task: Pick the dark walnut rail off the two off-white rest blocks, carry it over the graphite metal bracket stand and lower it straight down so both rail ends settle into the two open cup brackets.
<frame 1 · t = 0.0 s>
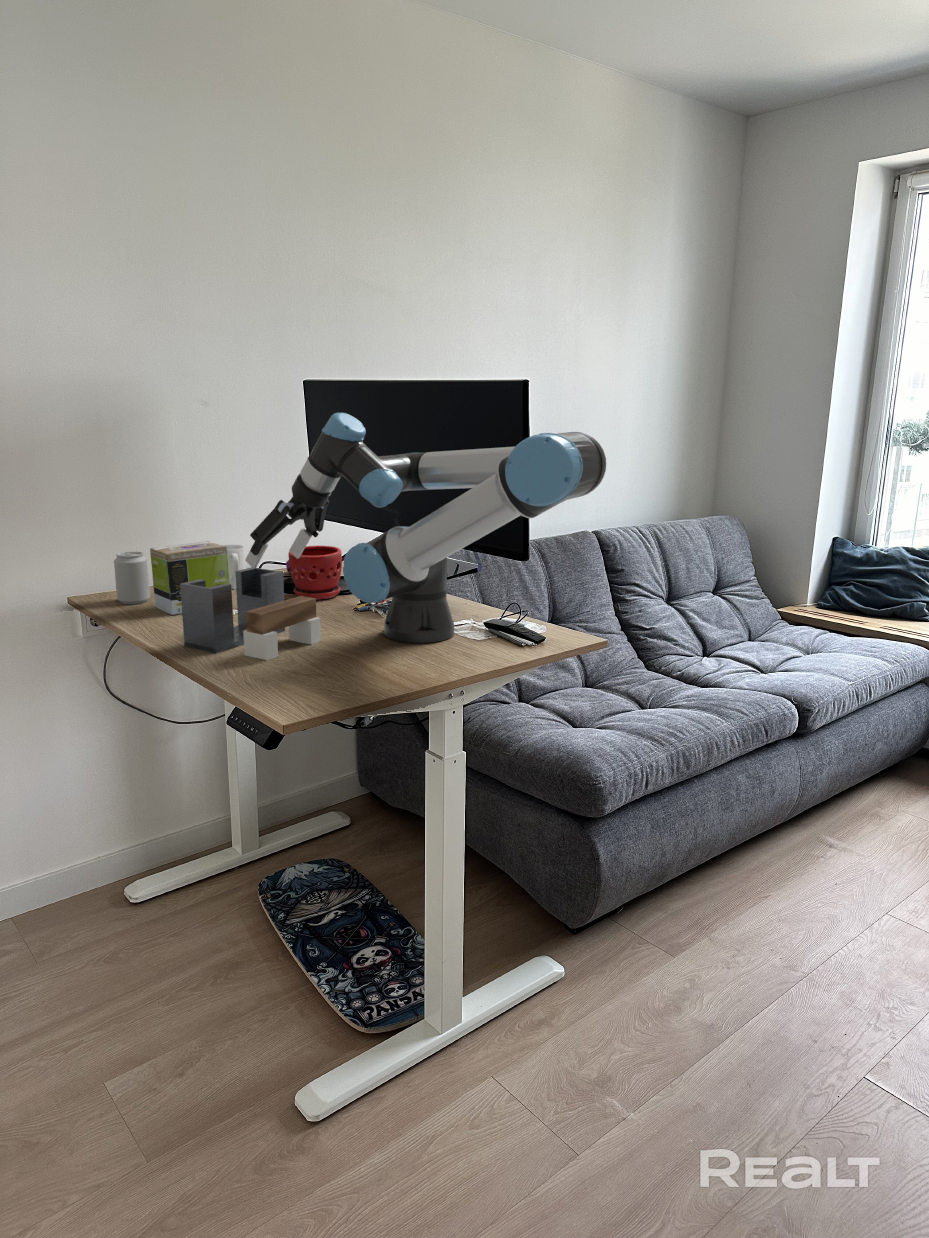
hand: (272, 559, 187), 15 cm above the table, tool tilted 35°, fingers open, 13 cm apart
plant pot: (316, 597, 221), on the table
mug: (232, 588, 228), on the table
rest blocks: (283, 648, 176), on the table
tea box: (193, 608, 208), on the table
mounting bracket: (308, 578, 243), on the table
rail: (282, 624, 175), point 5 cm above the table, touching rest blocks
can: (134, 602, 212), on the table
cup brackets: (236, 638, 183), on the table
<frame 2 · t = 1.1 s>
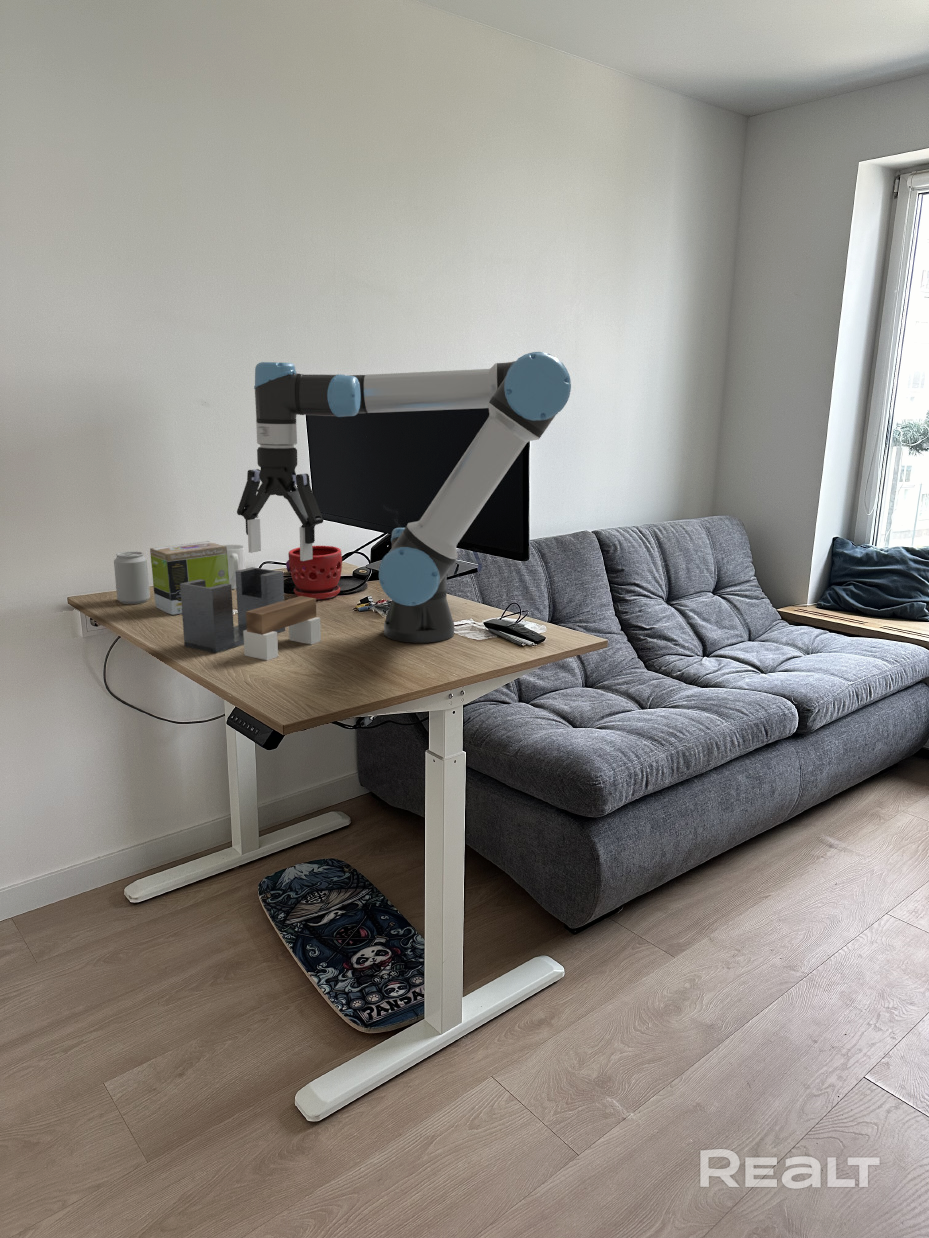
hand: (280, 555, 172), 19 cm above the table, tool pointing down, fingers open, 13 cm apart
nothing on the table moved.
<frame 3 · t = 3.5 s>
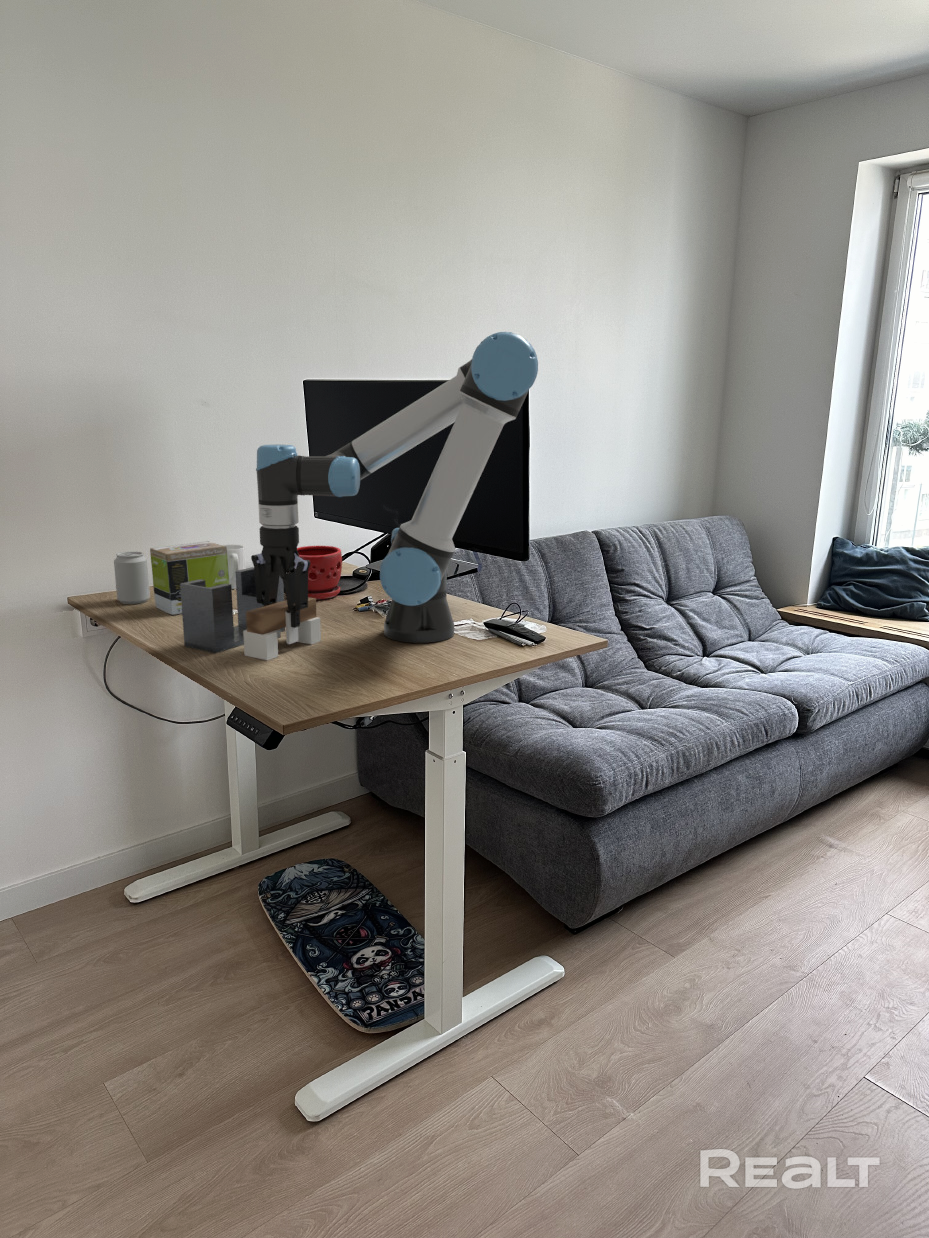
hand: (283, 640, 176), 2 cm above the table, tool pointing down, fingers closed on rail, 4 cm apart
rail: (282, 624, 175), point 5 cm above the table, touching gripper, rest blocks
everything else where it was.
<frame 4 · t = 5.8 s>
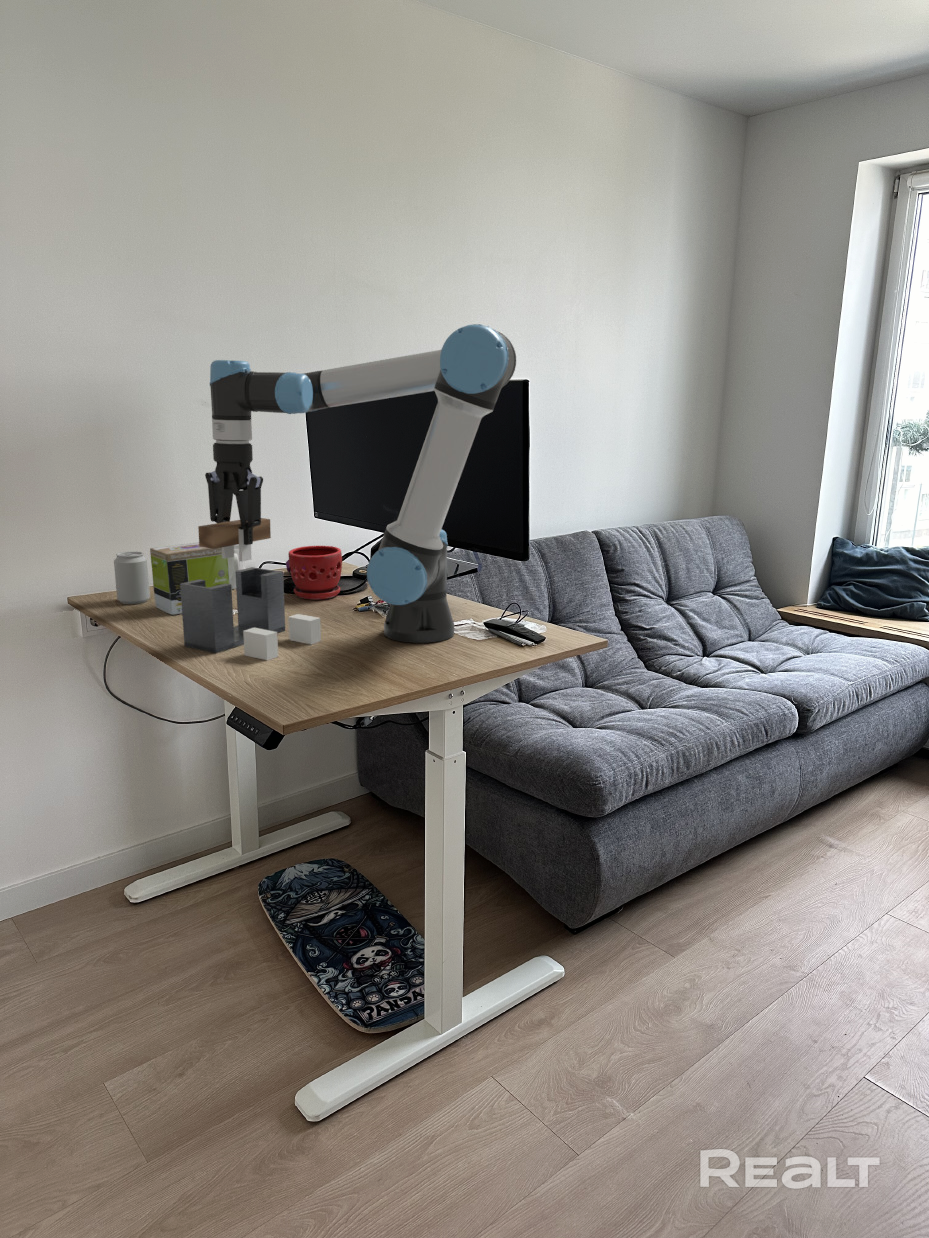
hand: (236, 558, 177), 17 cm above the table, tool pointing down, fingers closed on rail, 4 cm apart
rail: (236, 542, 176), point 21 cm above the table, touching gripper
everything else where it was.
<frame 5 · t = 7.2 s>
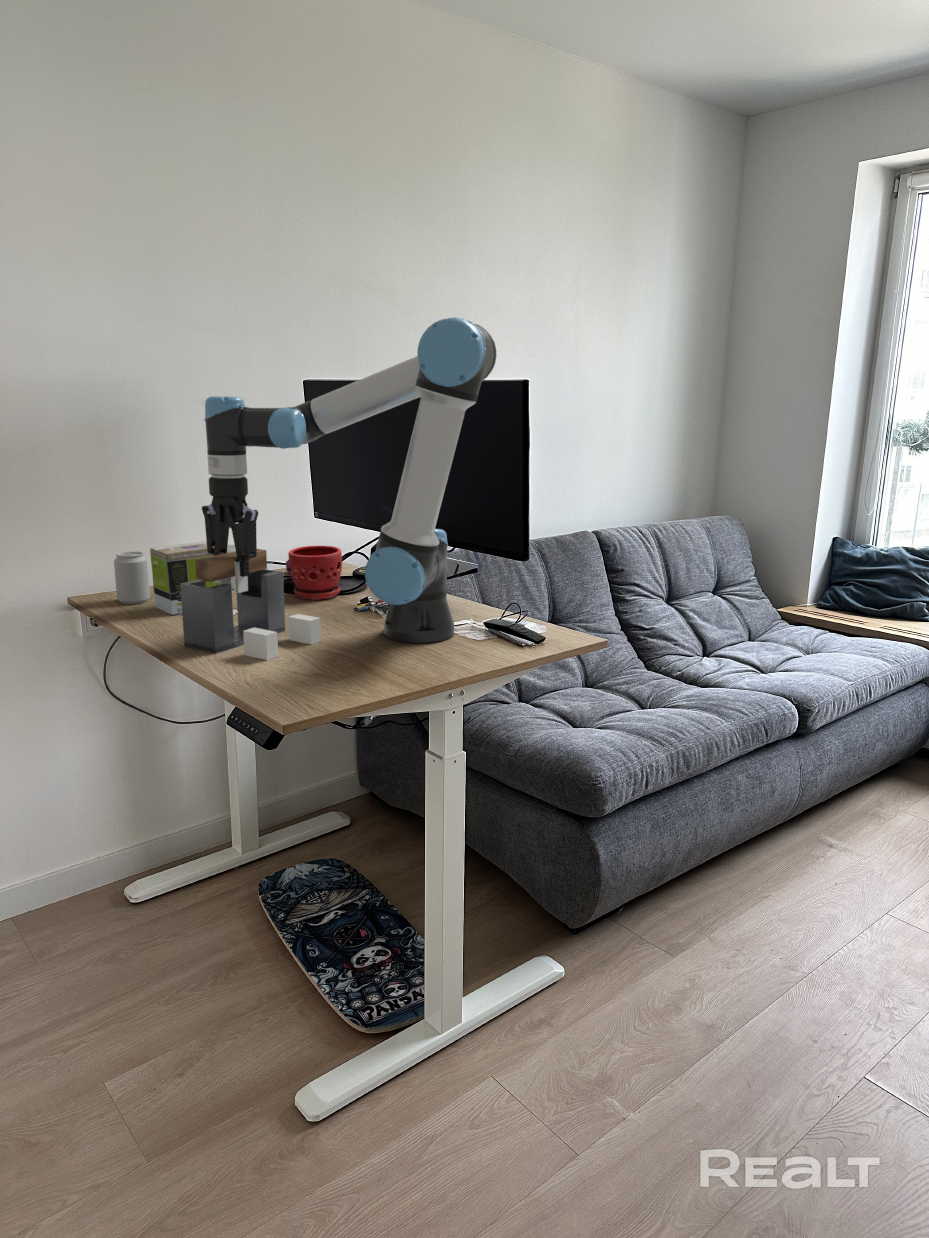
hand: (233, 589, 180), 10 cm above the table, tool pointing down, fingers closed on rail, 4 cm apart
rail: (232, 573, 179), point 14 cm above the table, touching gripper
everything else where it was.
when the fingers open (6 cm above the table, at t = 8.2 s): rail drops 2 cm, resting on cup brackets.
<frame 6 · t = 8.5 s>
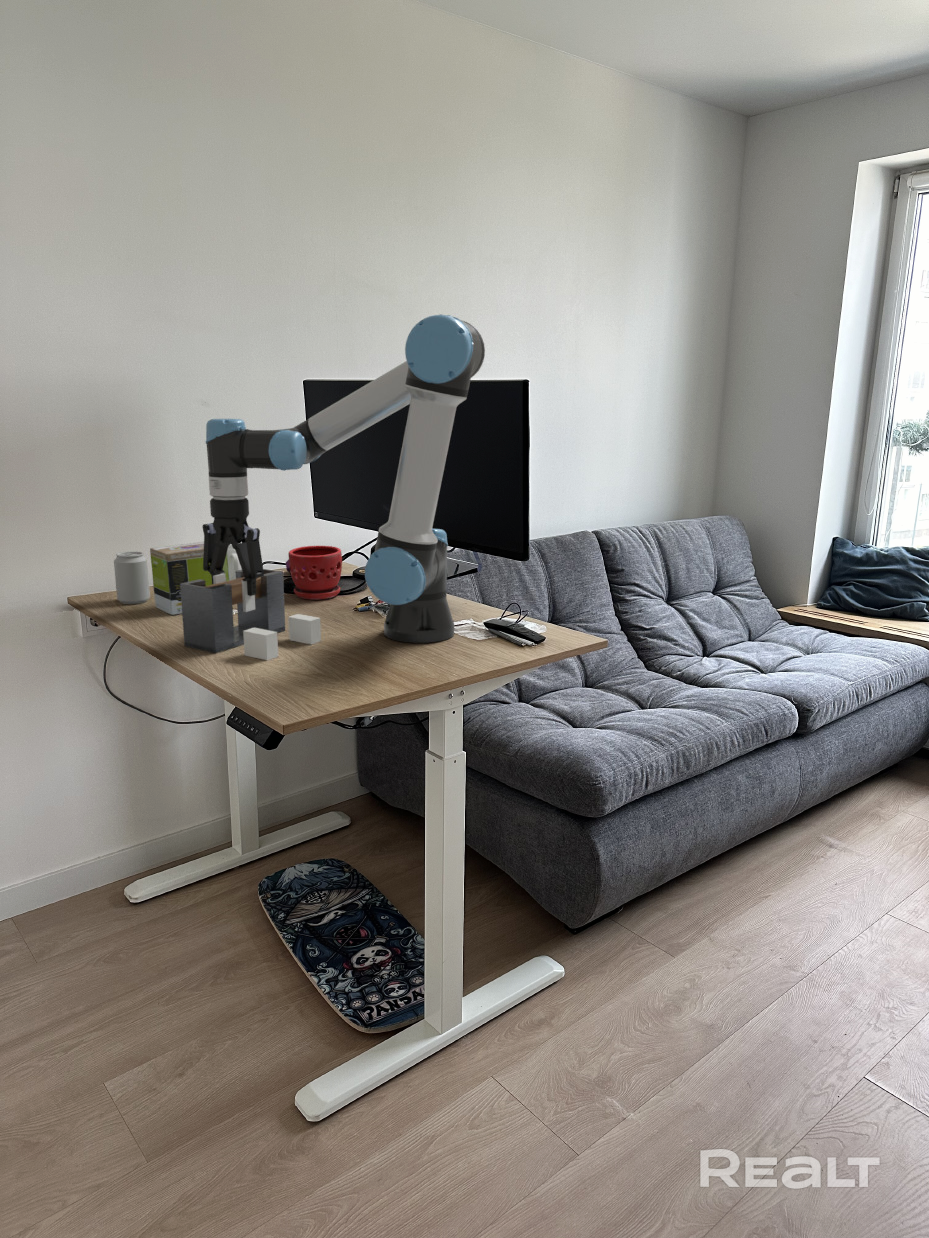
hand: (235, 607, 181), 7 cm above the table, tool pointing down, fingers open, 7 cm apart
rail: (234, 601, 181), point 8 cm above the table, touching cup brackets
everything else where it was.
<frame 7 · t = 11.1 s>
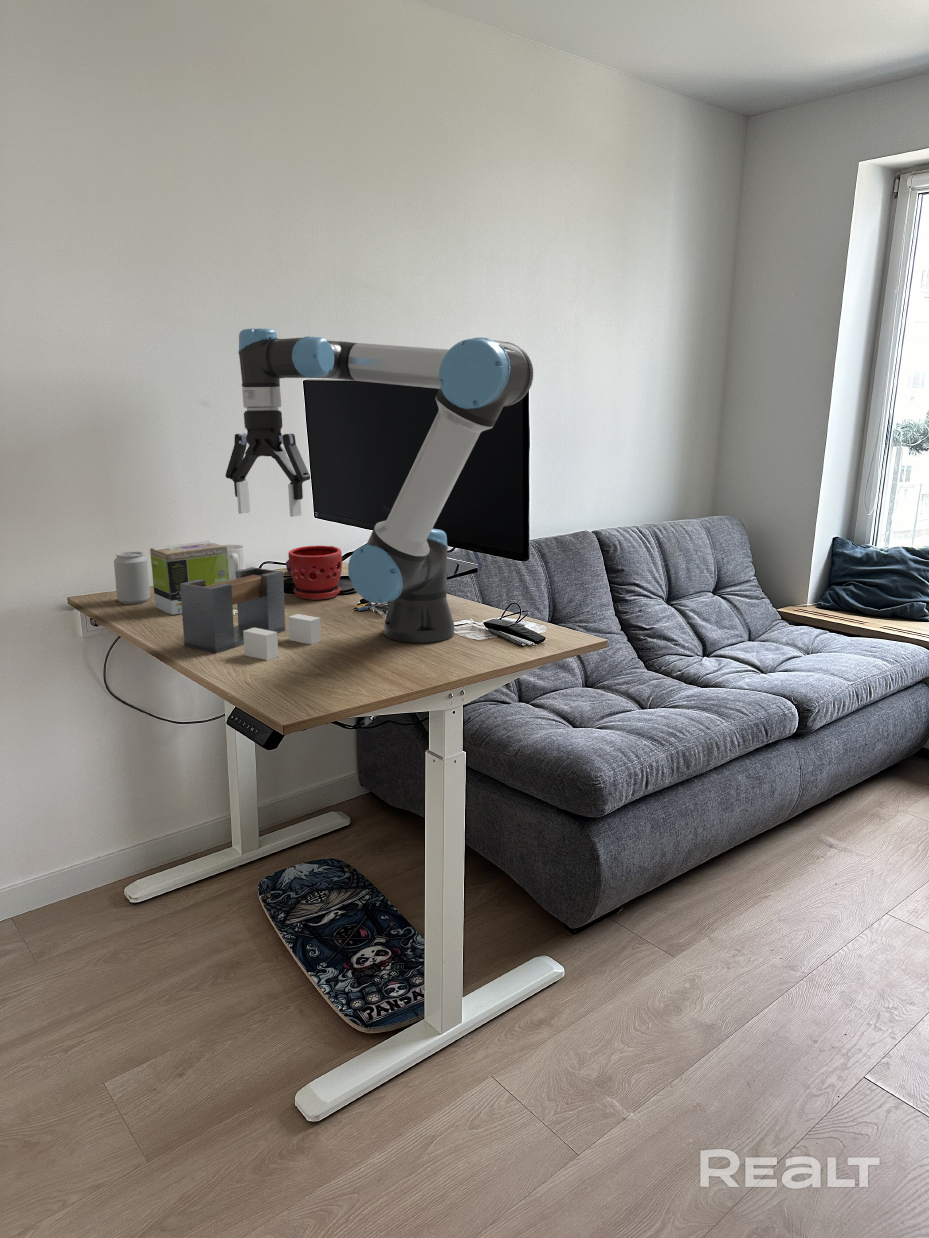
hand: (269, 514, 181), 25 cm above the table, tool pointing down, fingers open, 13 cm apart
nothing on the table moved.
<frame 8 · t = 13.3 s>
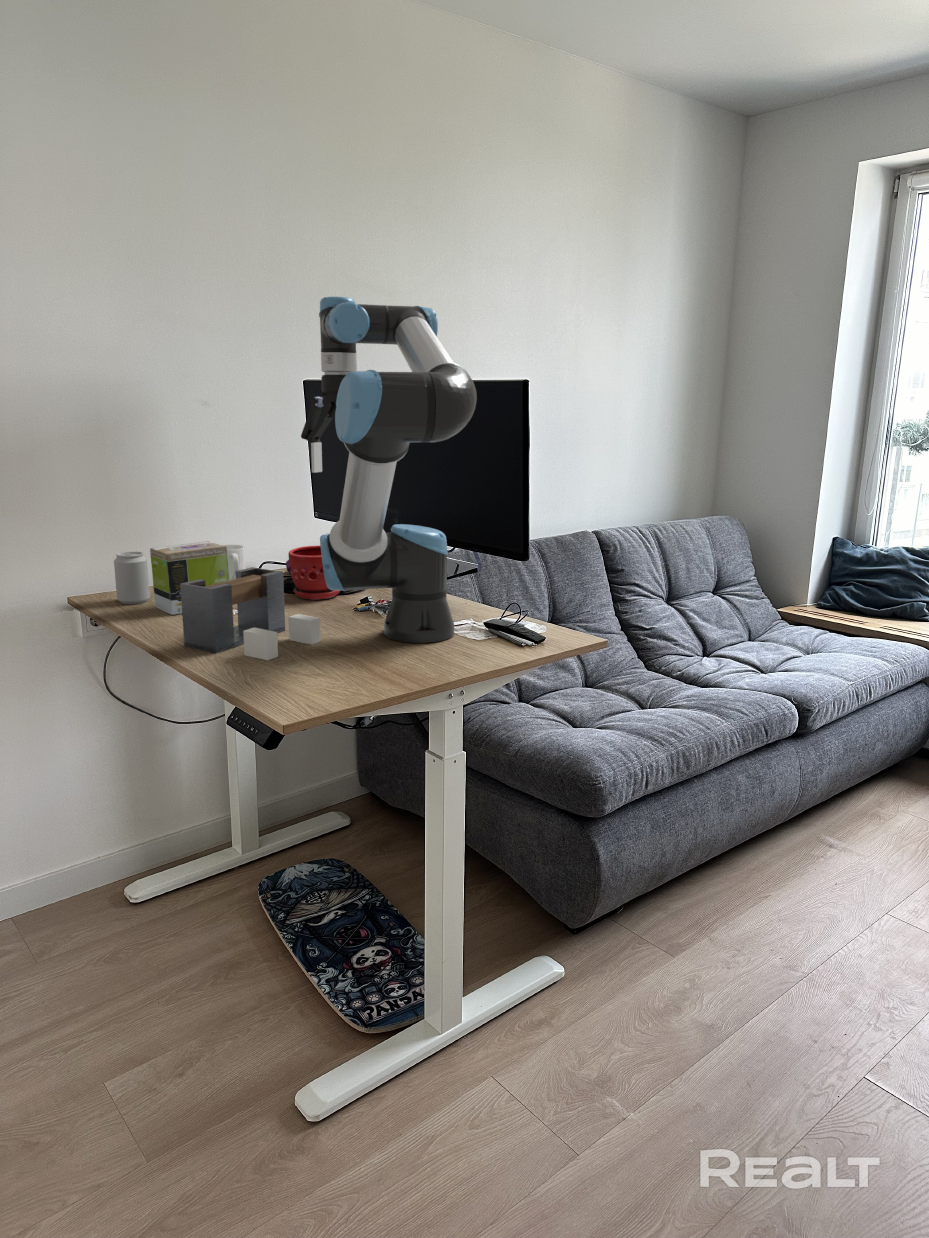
hand: (341, 474, 192), 33 cm above the table, tool pointing down, fingers open, 13 cm apart
nothing on the table moved.
at the end: rail 0.0 cm off-centre on the cup brackets, point 8.0 cm above the cup brackets's base; rail tilted 0°; the gripper is holding nothing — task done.
